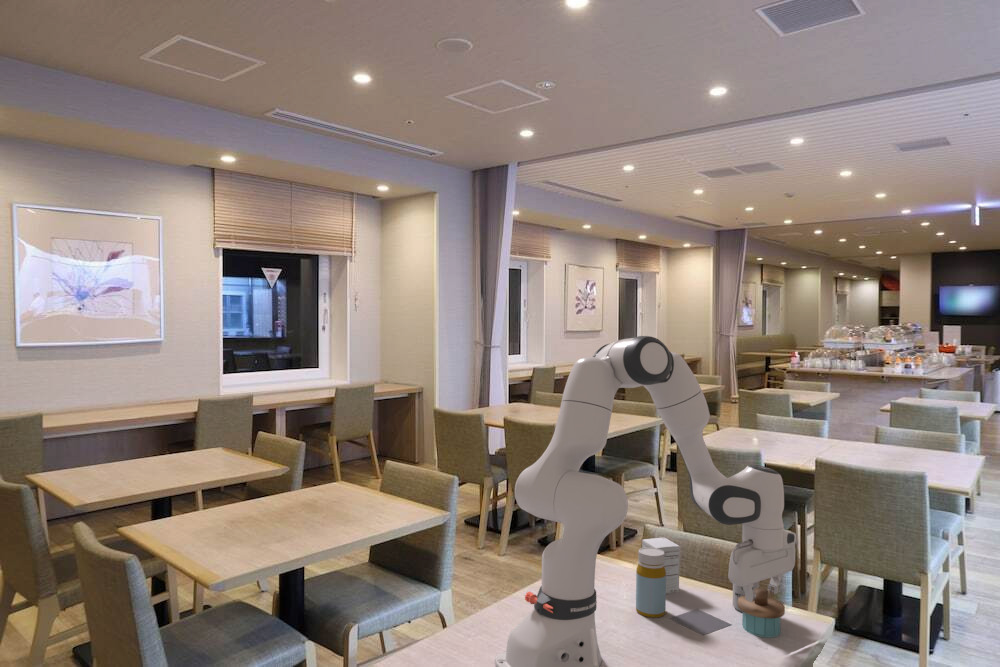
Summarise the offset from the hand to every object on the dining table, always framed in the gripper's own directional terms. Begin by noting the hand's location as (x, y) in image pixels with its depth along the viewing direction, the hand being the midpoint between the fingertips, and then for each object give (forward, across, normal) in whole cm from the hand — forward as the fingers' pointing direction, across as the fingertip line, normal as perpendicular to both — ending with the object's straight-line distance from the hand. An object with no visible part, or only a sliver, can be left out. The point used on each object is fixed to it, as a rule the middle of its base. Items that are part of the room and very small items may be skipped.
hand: (761, 596), depth 149 cm
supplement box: (+8, -2, +29) cm, 30 cm away
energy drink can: (+8, +6, +9) cm, 14 cm away
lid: (+3, 0, 0) cm, 3 cm away
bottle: (+8, -15, +20) cm, 26 cm away
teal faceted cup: (+8, 0, 0) cm, 8 cm away
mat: (+8, -9, +10) cm, 16 cm away
